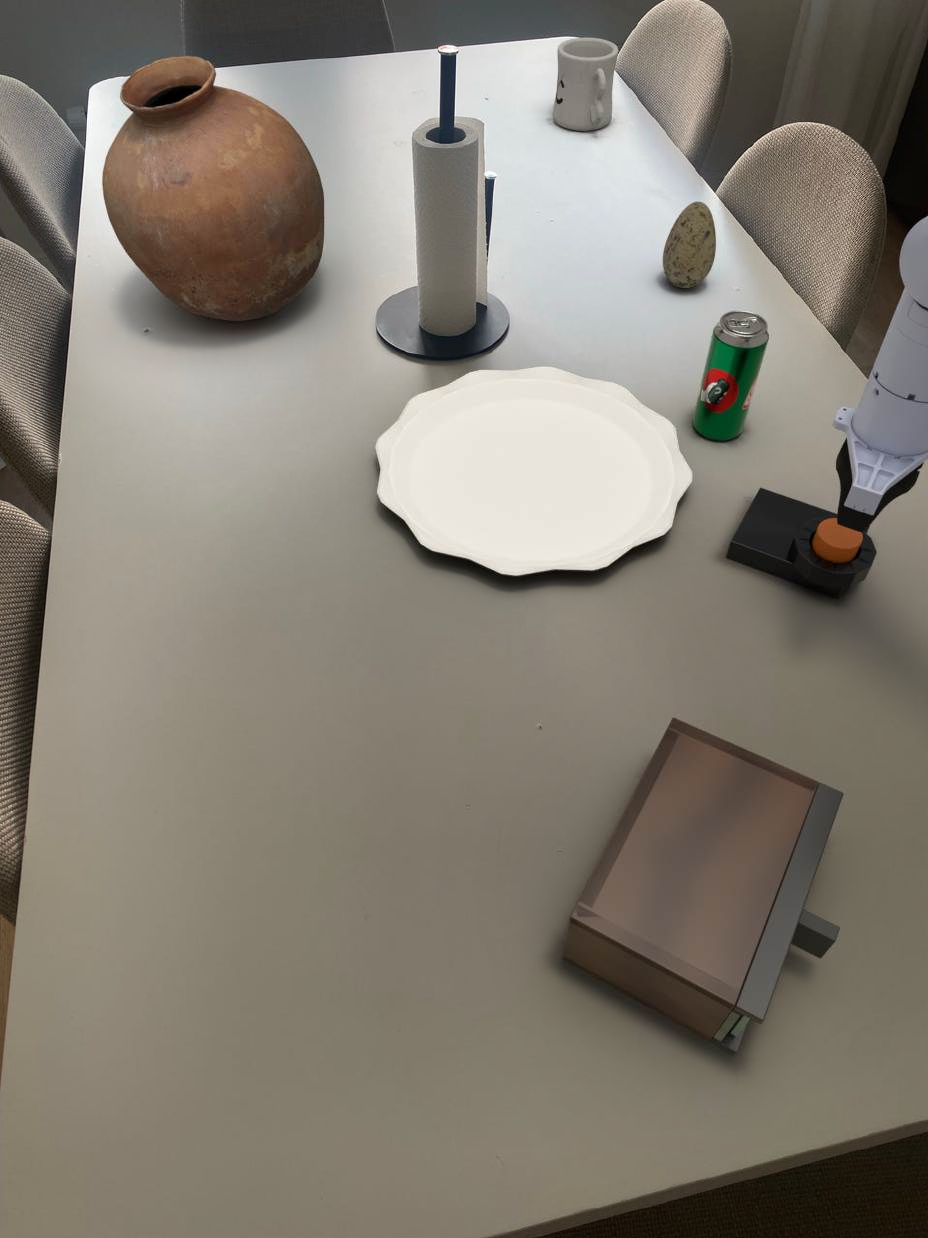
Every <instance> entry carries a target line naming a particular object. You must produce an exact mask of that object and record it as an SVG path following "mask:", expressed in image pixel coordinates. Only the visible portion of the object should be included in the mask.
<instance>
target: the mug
mask: <svg viewBox="0 0 928 1238" xmlns="http://www.w3.org/2000/svg"><path fill="white" fill-rule="evenodd" d="M556 51H557V80H556V91H555V98H554V104H553V107H552V117H553V121H554V122H555V123H556V124H557V125H559V126H560V127H562V128H564V129H567V130H571V131H578V132H579V131H581V132H585V131H586V132H588V131H596V130H600V129H602V128H604V127H605V126H607V125H608V124H609V123H610V122H611V120H612V117H613V87H614V75H615V69H616V66H617V60H618V55H619V47H618V46H617V45H616V44H615V43H614V42H612V41H609V40H607V39H604V38H603V39H602V38H597V37H575V38H570V39H567V40H564V41H562V42H561V43H560V44H559V45H558V46H557V49H556Z"/></svg>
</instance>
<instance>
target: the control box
mask: <svg viewBox="0 0 928 1238" xmlns="http://www.w3.org/2000/svg"><path fill="white" fill-rule="evenodd" d="M830 518H837V512H833V511H830V510H827V509H824V508H821V507H818V506H815V505H813V504H810V503H807V502H805V501H801V500H798V499H796V498H792V497H789V496H787V495H784V494H781V493H778V492H775V491H772V490H769V489H766V488H763V487H760V488H759V489H758V491H757V493H756V494H755V496H754V498H753V499H752V501H751V504H750V505H749V507H748V509H747V510H746V512H745V514H744V516H743V517H742V519H741V521H740V524H739V525H738V526H737V528H736V531H735V532H734V534H733V536H732V538H731V540H730V542H729V544H728V549H727V551H726V554H725V558H726V559H727V560H730V561H733V562H736V563H738V564H741V565H744V566H747V567H749V568H752V569H754V570H757V571H760V572H762V573H765V574H768V575H770V576H774V577H776V578H778V579H781V580H783V581H787V582H789V583H791V584H794V585H797V586H799V587H802V588H805V589H807V590H810V591H813V592H815V593H816V592H817V593H818V594H821V595H824V596H827V597H829V598H831V599H834V600H836V601H837V600H839V599H840V598H841V595H842V593H843V591H844V588H845V589H849V588H852V587H855V586H856V585H857V584H859V583H861V582H863V581H865V580H866V579H867V577H868V575H869V572H870V570H871V568H872V566H873V564H874V561H875V559H876V556H877V554H878V551H877V549H876V547H875V544H874V542H873V539H872V537H871V536H870V535H869V534H868V532H869V530H870V527H871V525H870V526H869V527H868V528H867V529H866V530H865V531H863V532H862V535H863V540H862V543H861V545H860V547H859V549H858V551H857V553H856V555H855V557H854V558H853V559H852V560H851V561H849V562H846V563H834V562H831V561H828V560H825V559H823V558H821V557H820V556H818V555H817V554H816V553H815V552H814V550H813V547H812V541H813V538H814V536H815V533H816V531H817V528H818V526H819V524H820V523H821V522H822V521H824V520H826V519H830Z"/></svg>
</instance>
